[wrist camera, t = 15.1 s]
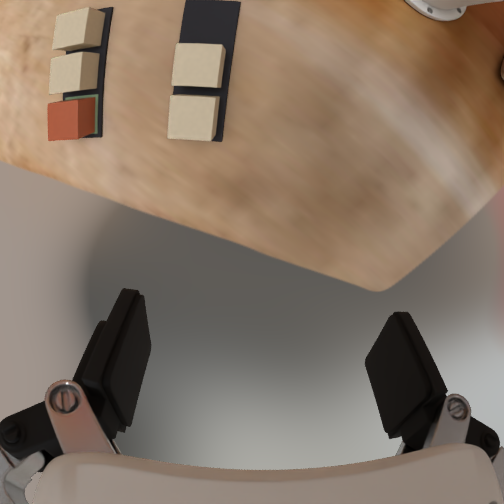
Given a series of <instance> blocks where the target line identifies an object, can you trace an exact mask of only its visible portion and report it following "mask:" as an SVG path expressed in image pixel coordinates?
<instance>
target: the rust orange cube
mask: <svg viewBox="0 0 504 504" xmlns="http://www.w3.org/2000/svg"><path fill="white" fill-rule="evenodd" d="M94 132H95V97H89V98H79V99H70V100H64V101H59V102H54V103H49V104H48V141H55V140H71V139H79V138H82V137H84V136H87V135H89V134H91V133H94Z"/></svg>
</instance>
